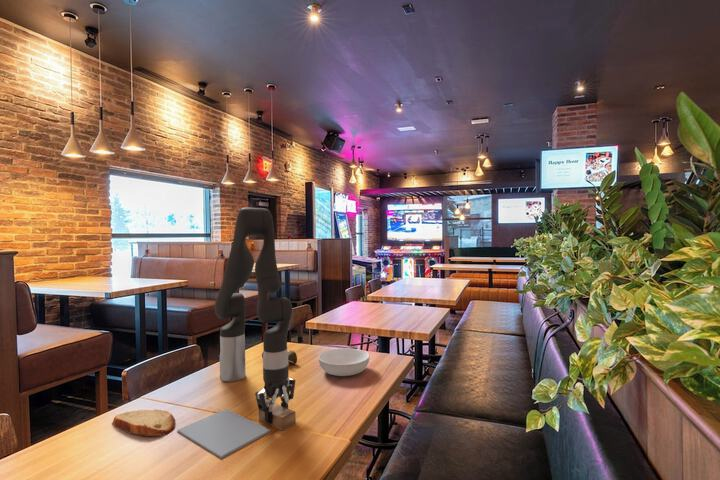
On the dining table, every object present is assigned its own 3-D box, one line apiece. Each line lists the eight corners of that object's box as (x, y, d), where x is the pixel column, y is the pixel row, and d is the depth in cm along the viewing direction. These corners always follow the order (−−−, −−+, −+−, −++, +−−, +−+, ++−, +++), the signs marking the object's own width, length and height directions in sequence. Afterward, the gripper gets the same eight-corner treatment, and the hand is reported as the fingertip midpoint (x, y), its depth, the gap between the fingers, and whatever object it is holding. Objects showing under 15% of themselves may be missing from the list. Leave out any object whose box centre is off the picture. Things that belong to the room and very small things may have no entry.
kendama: (275, 357, 177) (303, 366, 164) (257, 364, 170) (285, 373, 157) (274, 344, 177) (302, 352, 164) (256, 350, 170) (284, 359, 157)
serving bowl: (379, 368, 161) (379, 352, 161) (351, 386, 143) (350, 368, 143) (338, 360, 172) (338, 344, 172) (307, 375, 154) (307, 358, 154)
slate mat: (177, 431, 113) (177, 429, 113) (225, 410, 125) (225, 408, 125) (221, 458, 99) (221, 456, 99) (270, 431, 112) (270, 429, 112)
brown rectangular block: (258, 420, 119) (258, 407, 119) (271, 414, 123) (271, 401, 123) (283, 431, 113) (282, 417, 112) (295, 424, 117) (295, 411, 116)
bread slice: (114, 419, 121) (113, 407, 121) (177, 408, 128) (177, 397, 128) (100, 449, 105) (100, 436, 105) (174, 435, 112) (174, 422, 112)
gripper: (285, 355, 125) (286, 406, 126) (248, 368, 114) (249, 424, 114) (301, 359, 121) (302, 413, 121) (264, 374, 109) (266, 432, 110)
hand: (276, 418), depth 118 cm, fingers open, 5 cm apart
